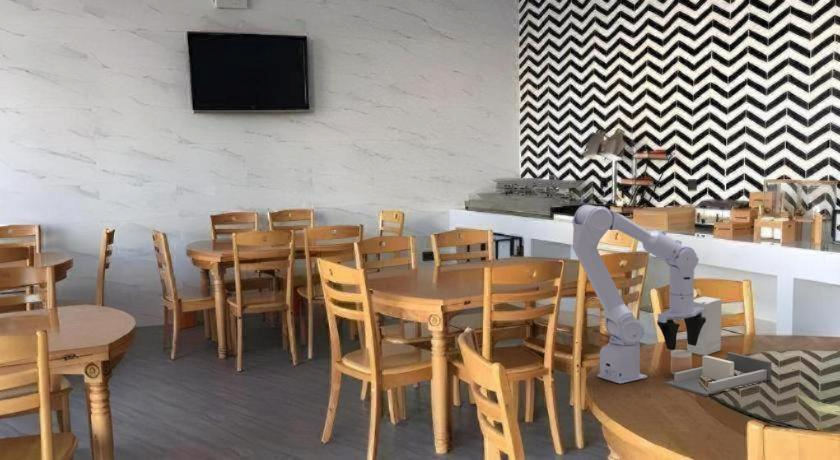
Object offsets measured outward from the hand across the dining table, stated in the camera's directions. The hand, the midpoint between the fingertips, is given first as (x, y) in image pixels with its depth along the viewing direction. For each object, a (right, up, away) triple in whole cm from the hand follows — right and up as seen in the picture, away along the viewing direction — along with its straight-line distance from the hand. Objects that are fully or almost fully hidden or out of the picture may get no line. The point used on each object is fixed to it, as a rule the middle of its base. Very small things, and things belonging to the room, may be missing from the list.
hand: (681, 347), depth 199 cm
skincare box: (+13, -5, +21) cm, 26 cm away
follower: (+6, -7, -8) cm, 12 cm away
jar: (0, -7, +1) cm, 7 cm away
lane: (+6, -7, -8) cm, 12 cm away
